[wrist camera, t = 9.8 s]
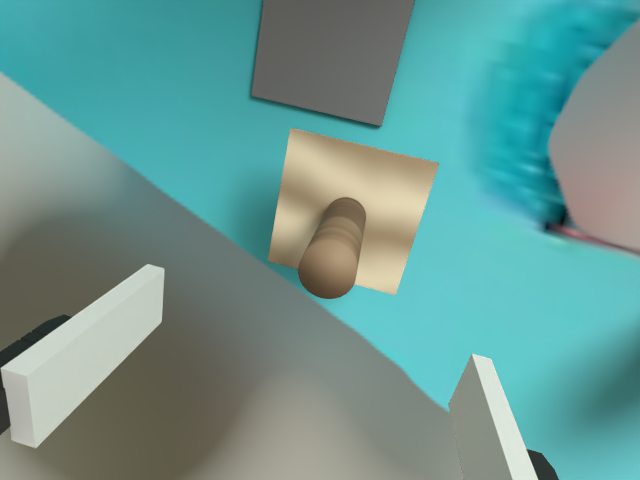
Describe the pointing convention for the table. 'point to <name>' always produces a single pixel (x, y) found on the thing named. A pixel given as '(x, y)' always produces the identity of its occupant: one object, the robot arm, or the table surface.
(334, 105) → the mat
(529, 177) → the table surface
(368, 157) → the lid
